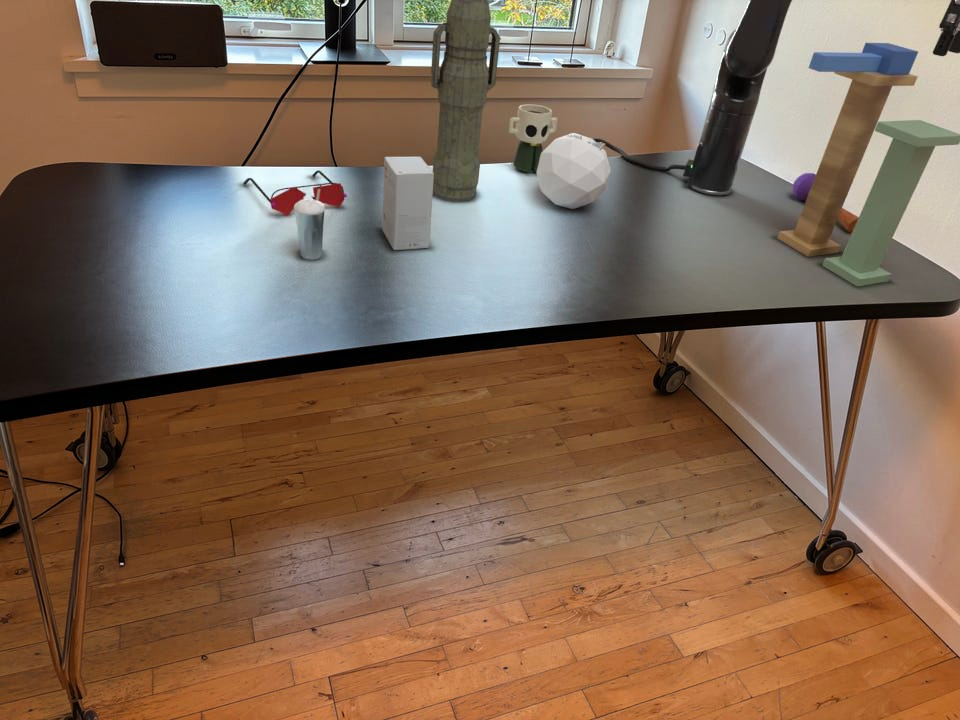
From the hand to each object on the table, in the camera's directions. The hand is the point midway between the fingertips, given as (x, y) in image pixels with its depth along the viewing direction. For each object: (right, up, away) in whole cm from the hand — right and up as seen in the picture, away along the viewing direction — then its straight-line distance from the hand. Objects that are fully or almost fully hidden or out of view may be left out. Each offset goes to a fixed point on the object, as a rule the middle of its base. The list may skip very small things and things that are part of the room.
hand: (946, 53), depth 131 cm
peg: (-25, -10, -16) cm, 32 cm away
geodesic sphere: (-69, -26, +9) cm, 75 cm away
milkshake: (-113, -40, -19) cm, 122 cm away
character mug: (-76, -15, +24) cm, 81 cm away
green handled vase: (-92, -24, +8) cm, 95 cm away
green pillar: (-19, -41, -4) cm, 46 cm away
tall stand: (-24, -35, +4) cm, 42 cm away
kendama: (-14, -26, +20) cm, 35 cm away
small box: (-99, -36, -11) cm, 106 cm away
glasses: (-121, -27, -1) cm, 124 cm away
